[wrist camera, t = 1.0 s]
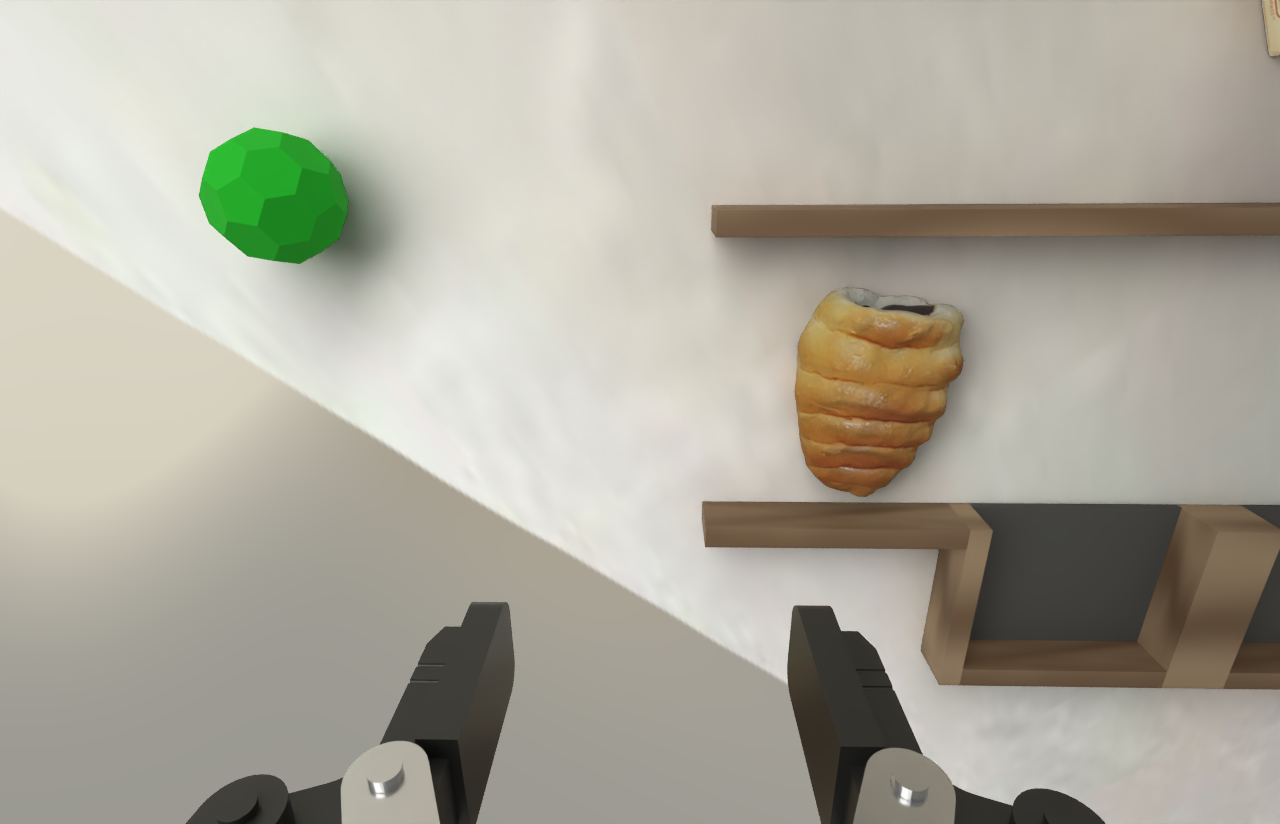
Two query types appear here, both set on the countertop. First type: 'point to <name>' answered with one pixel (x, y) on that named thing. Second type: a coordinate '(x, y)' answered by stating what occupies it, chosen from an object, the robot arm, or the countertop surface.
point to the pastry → (872, 384)
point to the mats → (1087, 572)
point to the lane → (1184, 594)
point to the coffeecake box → (1272, 25)
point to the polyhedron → (274, 196)
